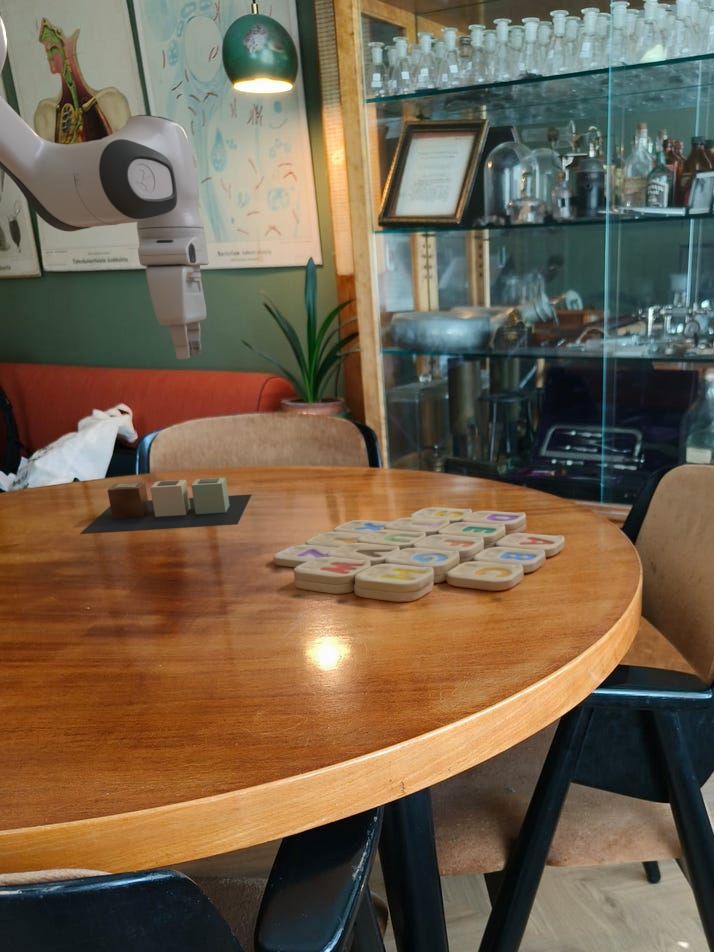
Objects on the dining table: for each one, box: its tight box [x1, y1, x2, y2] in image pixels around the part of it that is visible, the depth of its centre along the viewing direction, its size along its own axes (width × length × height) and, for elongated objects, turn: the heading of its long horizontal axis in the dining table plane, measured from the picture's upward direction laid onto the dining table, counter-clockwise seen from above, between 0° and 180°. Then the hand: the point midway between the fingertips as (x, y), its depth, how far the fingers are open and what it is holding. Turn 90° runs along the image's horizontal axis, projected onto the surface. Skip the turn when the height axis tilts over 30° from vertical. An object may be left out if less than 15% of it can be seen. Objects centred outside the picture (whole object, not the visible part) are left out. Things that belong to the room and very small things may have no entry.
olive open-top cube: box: [190, 477, 230, 514], centre depth 136 cm, size 4×4×5 cm
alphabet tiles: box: [272, 506, 566, 603], centre depth 111 cm, size 33×33×2 cm
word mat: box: [79, 494, 253, 535], centre depth 136 cm, size 22×20×1 cm
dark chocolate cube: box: [107, 481, 150, 519], centre depth 134 cm, size 4×4×5 cm
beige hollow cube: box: [150, 479, 191, 517], centre depth 135 cm, size 4×4×5 cm
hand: (189, 356), depth 128 cm, fingers open, 8 cm apart
